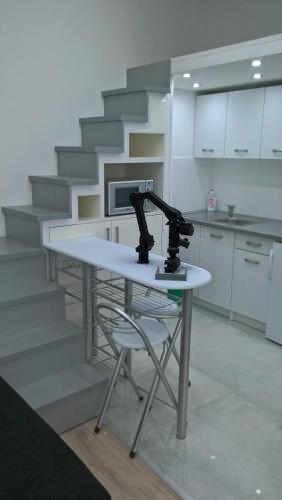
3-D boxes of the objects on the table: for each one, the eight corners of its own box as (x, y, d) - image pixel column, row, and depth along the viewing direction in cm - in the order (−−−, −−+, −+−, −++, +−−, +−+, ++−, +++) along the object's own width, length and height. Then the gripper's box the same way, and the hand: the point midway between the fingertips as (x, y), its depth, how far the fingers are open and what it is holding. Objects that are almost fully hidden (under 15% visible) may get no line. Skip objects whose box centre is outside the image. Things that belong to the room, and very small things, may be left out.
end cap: (177, 274, 217) (178, 261, 216) (163, 272, 219) (164, 260, 217) (180, 269, 227) (181, 256, 225) (167, 267, 228) (167, 255, 227)
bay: (157, 271, 220) (157, 266, 220) (186, 273, 219) (186, 267, 218) (155, 279, 207) (155, 273, 207) (186, 280, 206) (186, 274, 205)
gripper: (189, 238, 216) (188, 267, 219) (189, 231, 234) (188, 258, 237) (167, 237, 217) (166, 267, 220) (169, 230, 235) (168, 258, 239)
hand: (173, 262), depth 229 cm, fingers closed
